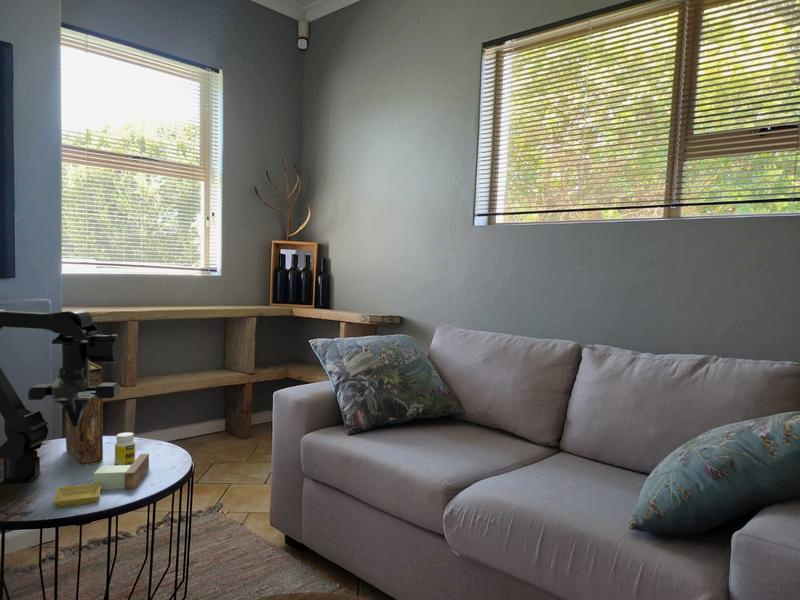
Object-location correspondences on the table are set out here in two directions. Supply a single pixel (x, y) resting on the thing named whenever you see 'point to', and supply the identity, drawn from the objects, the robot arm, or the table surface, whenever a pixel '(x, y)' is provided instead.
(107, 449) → the table surface
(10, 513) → the table surface
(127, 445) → the supplement bottle
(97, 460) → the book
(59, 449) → the table surface
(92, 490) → the yellow tray
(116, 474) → the block
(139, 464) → the board
